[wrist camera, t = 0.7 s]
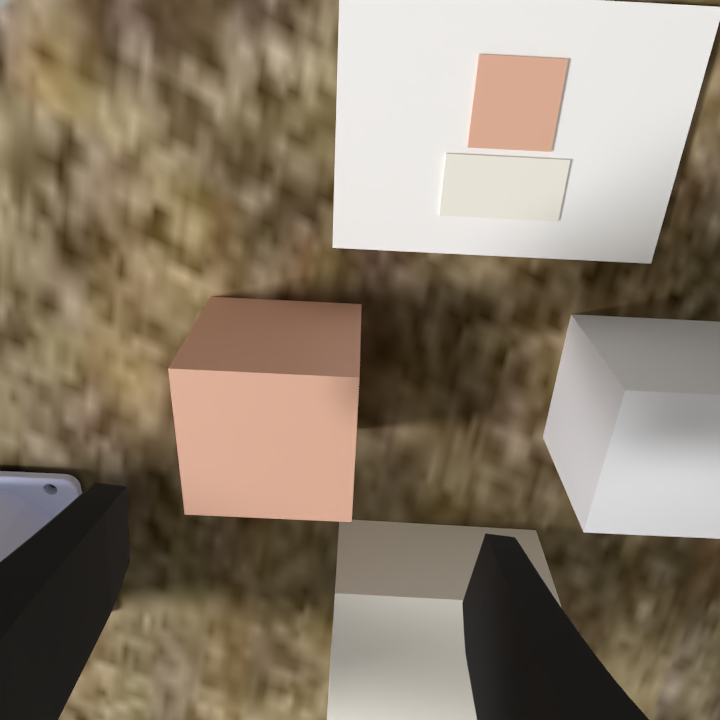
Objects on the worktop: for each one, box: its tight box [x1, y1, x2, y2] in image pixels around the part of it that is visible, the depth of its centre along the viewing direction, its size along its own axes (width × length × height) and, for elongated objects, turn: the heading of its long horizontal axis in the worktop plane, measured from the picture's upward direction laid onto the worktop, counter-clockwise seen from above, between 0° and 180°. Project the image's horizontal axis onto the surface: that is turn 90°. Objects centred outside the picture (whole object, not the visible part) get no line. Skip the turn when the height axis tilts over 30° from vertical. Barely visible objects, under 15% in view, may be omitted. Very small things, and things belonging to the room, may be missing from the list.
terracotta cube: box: [168, 297, 362, 522], centre depth 20 cm, size 5×5×5 cm
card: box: [333, 0, 720, 264], centre depth 18 cm, size 10×7×1 cm
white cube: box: [543, 314, 720, 539], centre depth 20 cm, size 5×5×5 cm
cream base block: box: [327, 520, 561, 720], centre depth 25 cm, size 8×8×4 cm
